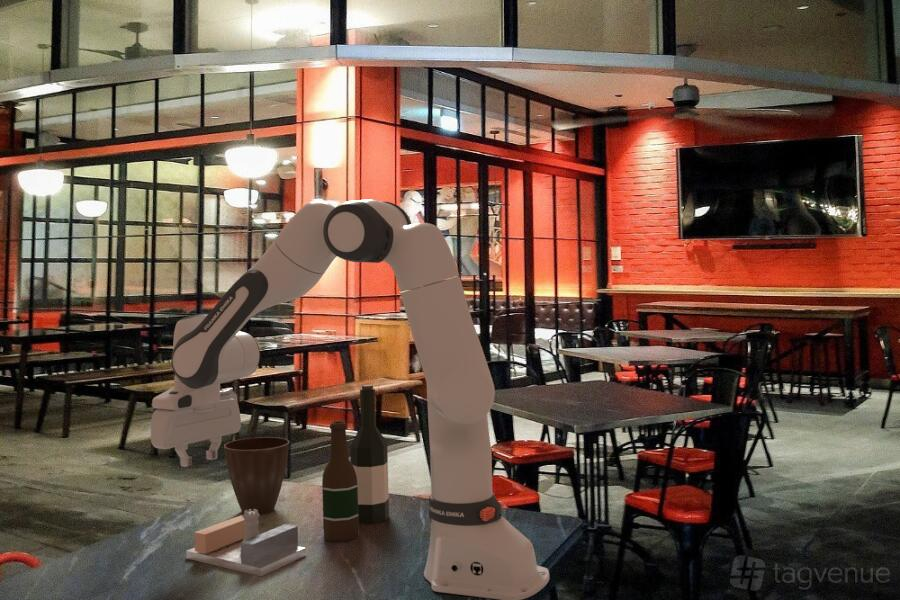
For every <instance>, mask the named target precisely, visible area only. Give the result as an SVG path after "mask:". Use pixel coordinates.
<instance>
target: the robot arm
mask: <svg viewBox="0 0 900 600" xmlns="http://www.w3.org/2000/svg"><path fill="white" fill-rule="evenodd" d="M337 257H338V258H340V259H342V260H344V261H347V262H352V263H371V264H372V263H375V264H379V263H382V262H385V263H386V264H387V265H388V266H390V268H391V270H393V271H392V272H393V274H394V276H395V279H396V283H397V286H398V290H399V293H400V298H401V301H402V303H403V307H404V311H405V314H406V319H407V322H408V325H409V328H410V329H409V330H410V332H411V335H412V338H413V342H414V345H415V349H416V351H417V355H418V358H419V363H420V365H421V368H422V372H423V376H424V379H425V382H426V400H427V401H426V402H427V419H428V438H429V439H428V440H429V451H430V452H429V455H430V459H429V460H430V492H431V493H430V495H429V496H428V515H429V516H428V517H429V518H428V519H429V522H430V534H429V535H430V536H429V547H428V552H427V553H428V554H427V558H426V564H425V566H424V570H423V576H424V578H425V579H426V580H427V581H428V582H429V583H430V585H431V590H432V591H434V592H437V593H445V594H452V595H460V596H461V595H462V596H470V597H475V598H477V597H478V598H484V599H492V600H493V599H495V600H524V599H527V598H529V597H532V596H533V595H536V594H537V593H538V592H540V591H541V590H542V589H544V588H545V587H546V585H547V584H548V583H549V581H550V576H551V575H550V570H549V568H547V567H544V566H540V565H538V564H537V563H538V562H537V558H536V552H535V549H534V545H533V543H532V542H531V540H530V539H528V537H526V536H525V535H524V534H523V533H522V532H520V530H518V529H517V528H516V527H514V525H512V524H511V523H510V521H508V520H507V519H506V518H505V517H503V513H502V509H503V508H505V507H506V504H505V503H506V502H507V501H506V499H503V500H501V501H499V500H498V499H497V497H496V495H495V494H494V493H493V467H492V465H493V463H492V459H493V458H492V446H491V445H492V444H491V439H490V430H489V429H490V428H489V421H488V420H489V419H488V413H489V412H490V410H491V409H492V407H493V405H494V402H495V397H496V396H495V395H496V391H495V384H494V381H493V377H492V375H491V371H490V368H489V365H488V362H487V359H486V356H485V353H484V350H483V347H482V345H481V344H482V343H481V342H480V338H479V335H478V333H477V330H476V328H475V324H474V322H473V319H472V315H471V312H470V308H469V306H468V301H467V298H466V295H465V294H466V293H465V291H464V288H463V284H462V283H463V282H462V281H461V276H460V273H459V270H458V266H457V264H456V260H455V259H454V256H453V253H452V250H451V248H450V246H449V244H448V242H447V240H446V237H445V235H444V234H443V232H442V231H441V229H440V228H439V227H438V226H437V225H435V224H432V223H429V222H415V223H412V220H411V218H410V216H409V214H408V213H407V212H406V211H405V209H404V208H402V207H401V206H399V205H398V204H395V203H393V202H390V201H380V200H377V199H359V200H358V199H357V200H354V199H353V200H348V201H344V202H342V203H340V204H338V205H336V206H334V205H332V204H330V203H328V202H325V201H321V200H313V201H310V202H308V203H305V204H304V205H303V206H302V207H301V208H300V209H299V210H298V211H296V213H295V214H294V215H293V216H292V217H291V219H289V220H288V222H286V224H285V225H284V226H283V228H282V229H281V230H280V231H279V233H278V235H277V236H276V237H275V239H274V240H273V242H272V243H271V244H270V246H269V247H268V249H267V250H266V251H265V252H264V253H263V254H262V256H260V258H259V259H258V260H257V261H256V262H255V263H254V264H253V265H252V266H251V267H250V268H249V269H248V270H247V271H246V272H245V273H244V274H242V275H241V276H240V277H239V278H238V279H237V280H236V281H235V282H234V283H233V284H232V285H231V286H230V288H229V289H227V291H226V292H225V293H224V295H223V296H222V297H221V298H220V299H219V300H218V302H217V303H216V304H215V305H214V307H212V309H211V310H210V311H209V312H208V313H206V314H197V315H190V316H186V317H183V318H181V319H179V320H178V321H177V322H176V324H175V328H174V330H173V331H174V332H173V343H172V344H173V346H172V347H173V348H172V354H171V358H170V359H171V360H170V361H171V368H172V371H173V373H174V380H173V386H172V387H170V388H169V389H167V390H165V391H164V392H162V393H160V394H158V395H157V396H155V397H153V399H152V400H151V402H152V407H153V408H154V409H156V410H154V412H153V413H152V415H151V420H150V421H151V422H150V442H151V444H152V446H153V447H154V448H155V449H159V450H167V449H172V448H174V451H175V452H176V454H177V456H178V457H179V463H180V467H183V468H186V467H190V466H192V465H193V462H192V461H193V456H189V455H188V453H187V450H188V449H189V448H188V447H189V444H194V443H197V442H202V441H208V440H209V442H211V443H210V445H209V449H208V450H206V451H205V458H206V460H207V461H213V460H217V459H218V450H219V448H220V447H221V444H222V437H223V436H227V435H228V436H229V435H233V434H236V433H240V430H241V427H242V419H241V413H240V408H239V407H240V406H239V403H238V394H237V393H236V392H235V391H233V390H232V389H225V390H221V383H225V382H231V381H235V380H239V379H240V380H241V379H244V378H245V377H248V376H251V375H252V374H254V373H255V372H256V370H257V368H258V366H259V364H260V361H261V360H260V359H261V351H260V346H259V344H258V342H257V339H255V337H254V336H253V335H252V334H250V333H249V332H246V331H241V330H242V328H243V327H244V326H245V325H246V324H247V323H248V321H249V320H250V319H251V318H253V317H254V316H255V315H257V314H259V313H260V312H262V311H264V310H266V309H269V308H271V307H274V306H277V305H280V304H284V303H286V302H290V301H295V300H298V299H299V298H302V297H303V296H304V295H306V294H307V293H309V291H311V289H313V288H314V287H315V286H316V285H317V284H318V282H320V279H321V278H322V277H323V276H324V274H325V273H326V272H327V270H328V269H329V267H330V266H331V264H332V263H333V261H334V260H335V259H336V258H337Z"/></svg>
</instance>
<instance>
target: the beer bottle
mask: <svg viewBox="0 0 900 600" xmlns="http://www.w3.org/2000/svg"><path fill="white" fill-rule="evenodd" d="M329 424H330V425H329V429H330V453H329V461H328V462H327V464H326V465H325V467H324V470H323V473H322V480H321V484H322V485H321V487H322V490H321V491H322V517H323V518H322V521H323V523H322V525H323V538H324V540H325V541H328V542H333V543H339V542H340V543H341V542H343V543H344V542H349V541H352V540H354V539H356V538H358V537H359V528H360V527H359V524H360V523H358V485H357V476H356V472H355V469H354V467H353V465H352V463H351V460H350V458H349V454H348V442H347V433H346V432H347V431H346V429H348V426H347V423H346V422H345V421H341V420H339V421H338V420H337V421H332V422H330V423H329Z"/></svg>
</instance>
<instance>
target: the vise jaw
mask: <svg viewBox="0 0 900 600" xmlns="http://www.w3.org/2000/svg"><path fill="white" fill-rule="evenodd" d="M242 516H243V515H241V514H240V515H237V516H235V517H232V518H230V519H228V520H224V521H222V522H218V523H215V524H213V525H211V526H208V527H205V528H203V529H200V530H197V531H194V548H195V551H196V552H200V553H205V554H206V553H209V552H211V551H214V550H216V549H219V548H221V547H224V546H226V545H229V544H231V543H234V542H236V541H239V540H241V539H244V534H245V525H244V523H245V519H244V518H243V517H242Z"/></svg>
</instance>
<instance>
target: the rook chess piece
mask: <svg viewBox="0 0 900 600" xmlns="http://www.w3.org/2000/svg"><path fill="white" fill-rule="evenodd" d="M260 516H261V514H259V513H258V510H256V509H253V511H251V509H249V512H248V511H247V510H245V511H244V513H243V515H242V517H243V518H244V519H245V523H244V525H245V534H244V539H243V541H245V540H247V539H250V538H252V537H255V536H257V535H260V532H259V524H260V523H259V517H260ZM240 552H241V550H240Z"/></svg>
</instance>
